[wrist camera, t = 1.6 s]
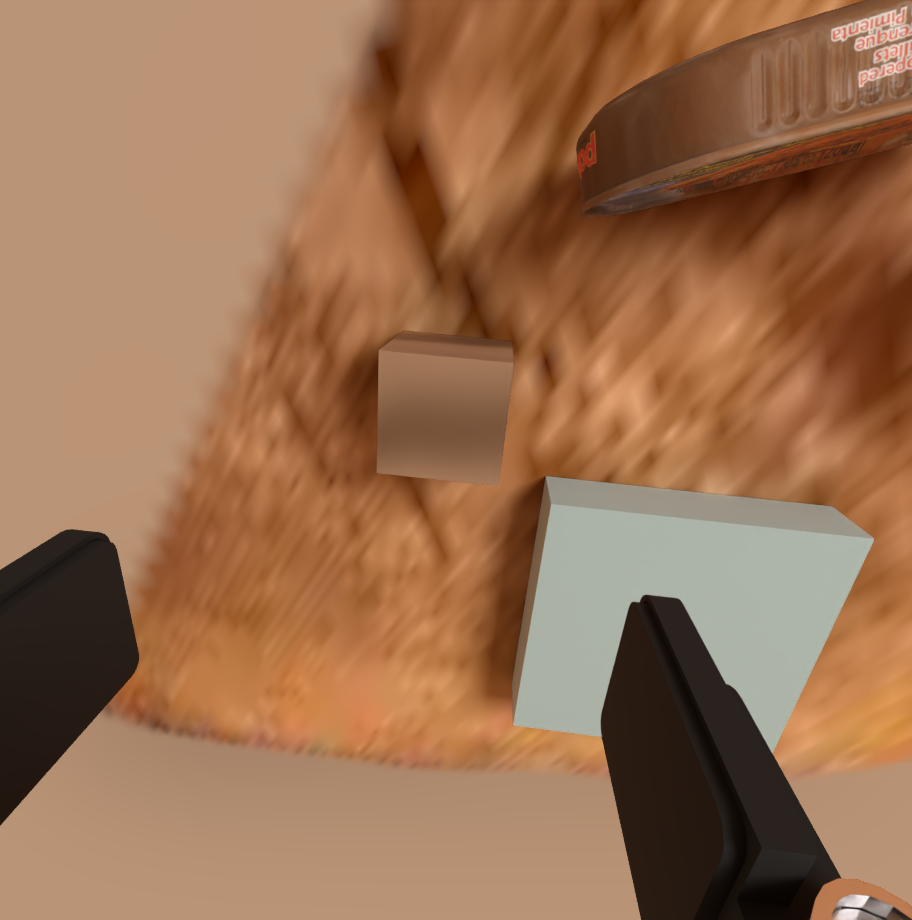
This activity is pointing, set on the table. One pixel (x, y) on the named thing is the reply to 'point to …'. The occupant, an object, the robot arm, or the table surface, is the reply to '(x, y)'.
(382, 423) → the walnut block
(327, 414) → the table surface
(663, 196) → the tin
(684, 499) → the plinth
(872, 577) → the table surface
